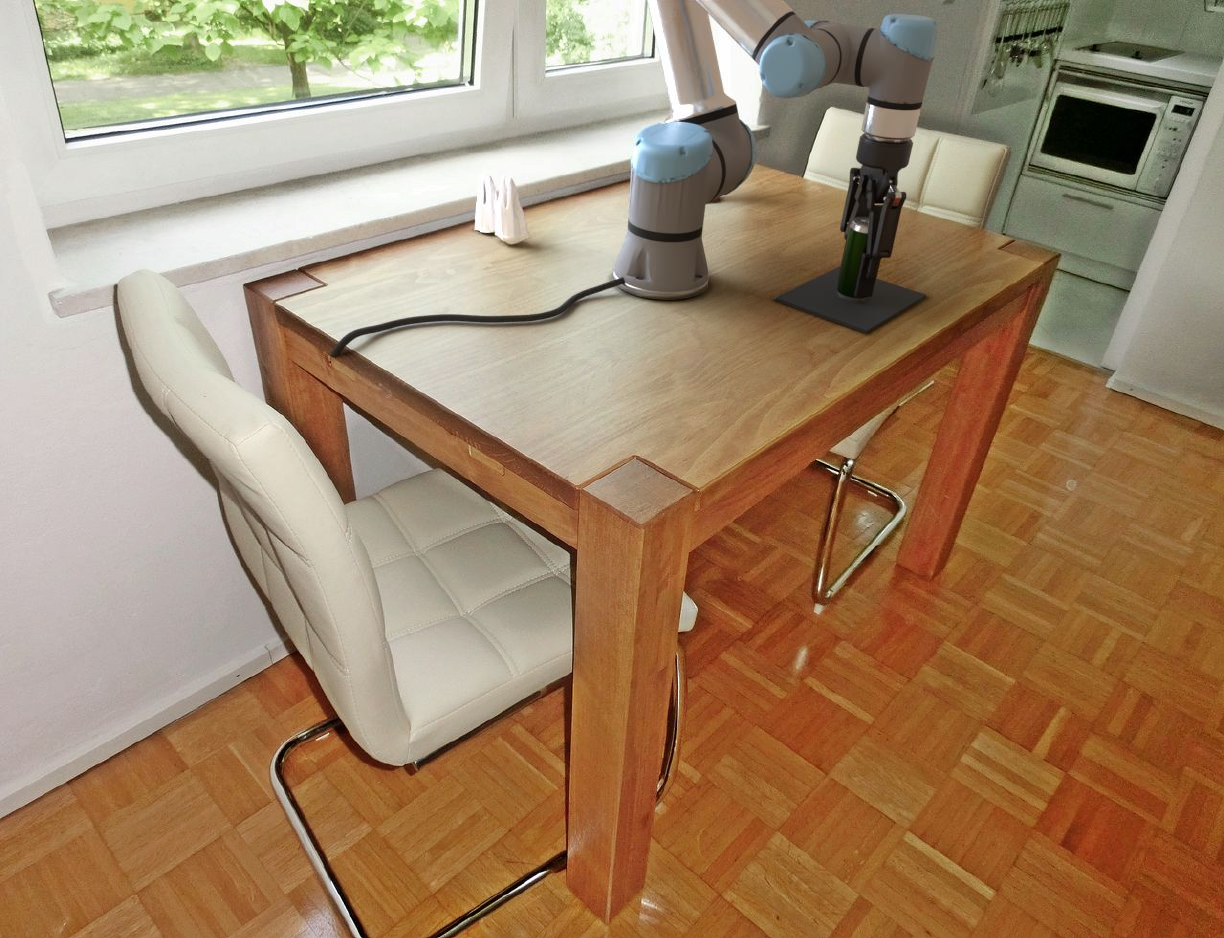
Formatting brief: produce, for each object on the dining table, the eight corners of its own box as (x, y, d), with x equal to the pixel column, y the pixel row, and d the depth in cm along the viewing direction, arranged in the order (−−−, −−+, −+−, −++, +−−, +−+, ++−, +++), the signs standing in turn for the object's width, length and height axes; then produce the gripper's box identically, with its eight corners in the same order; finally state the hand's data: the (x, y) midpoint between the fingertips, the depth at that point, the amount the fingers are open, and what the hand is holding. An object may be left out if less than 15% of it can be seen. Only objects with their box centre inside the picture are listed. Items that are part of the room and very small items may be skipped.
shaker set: (531, 245, 154) (531, 181, 148) (510, 250, 152) (510, 184, 146) (492, 225, 162) (491, 163, 155) (472, 229, 159) (470, 166, 153)
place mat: (866, 334, 131) (867, 330, 131) (774, 300, 140) (775, 297, 140) (925, 298, 144) (926, 294, 144) (838, 269, 153) (839, 266, 152)
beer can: (831, 297, 141) (846, 222, 134) (841, 286, 145) (857, 213, 138) (864, 305, 139) (881, 230, 132) (874, 294, 143) (891, 220, 136)
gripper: (943, 153, 121) (903, 311, 134) (882, 120, 136) (851, 266, 149) (893, 153, 120) (857, 313, 133) (836, 120, 135) (809, 267, 148)
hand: (854, 288), depth 141 cm, fingers closed on beer can, 5 cm apart
